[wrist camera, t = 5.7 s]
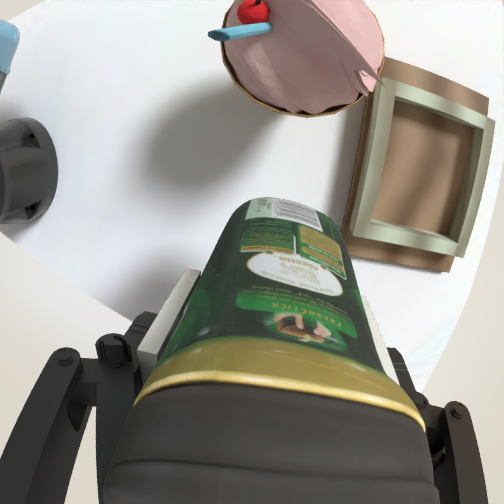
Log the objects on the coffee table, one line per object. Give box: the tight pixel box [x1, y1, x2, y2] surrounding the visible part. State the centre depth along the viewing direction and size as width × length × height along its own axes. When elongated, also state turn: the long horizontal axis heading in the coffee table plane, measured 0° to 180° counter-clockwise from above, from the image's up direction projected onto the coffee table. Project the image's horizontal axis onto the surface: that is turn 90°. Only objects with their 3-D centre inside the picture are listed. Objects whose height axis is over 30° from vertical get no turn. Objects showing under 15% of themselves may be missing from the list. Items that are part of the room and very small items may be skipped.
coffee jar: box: [100, 197, 440, 504], centre depth 12 cm, size 10×8×19 cm
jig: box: [341, 56, 495, 273], centre depth 28 cm, size 15×22×4 cm
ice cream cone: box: [208, 0, 386, 118], centre depth 18 cm, size 11×11×20 cm
